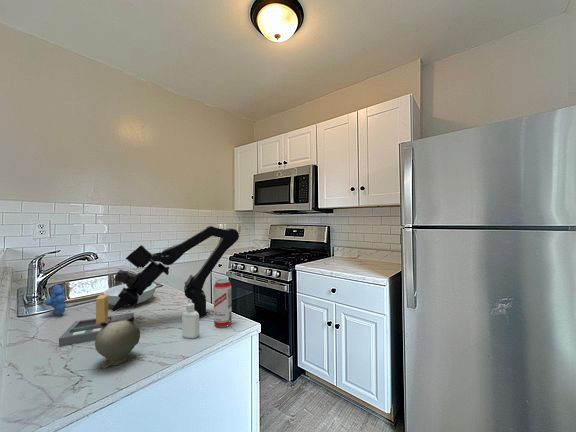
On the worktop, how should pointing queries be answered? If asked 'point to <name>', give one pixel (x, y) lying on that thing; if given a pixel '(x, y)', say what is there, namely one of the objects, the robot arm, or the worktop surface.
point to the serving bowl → (116, 290)
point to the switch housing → (86, 330)
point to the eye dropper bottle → (190, 322)
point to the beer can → (222, 303)
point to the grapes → (57, 300)
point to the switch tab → (102, 309)
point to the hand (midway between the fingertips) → (112, 310)
